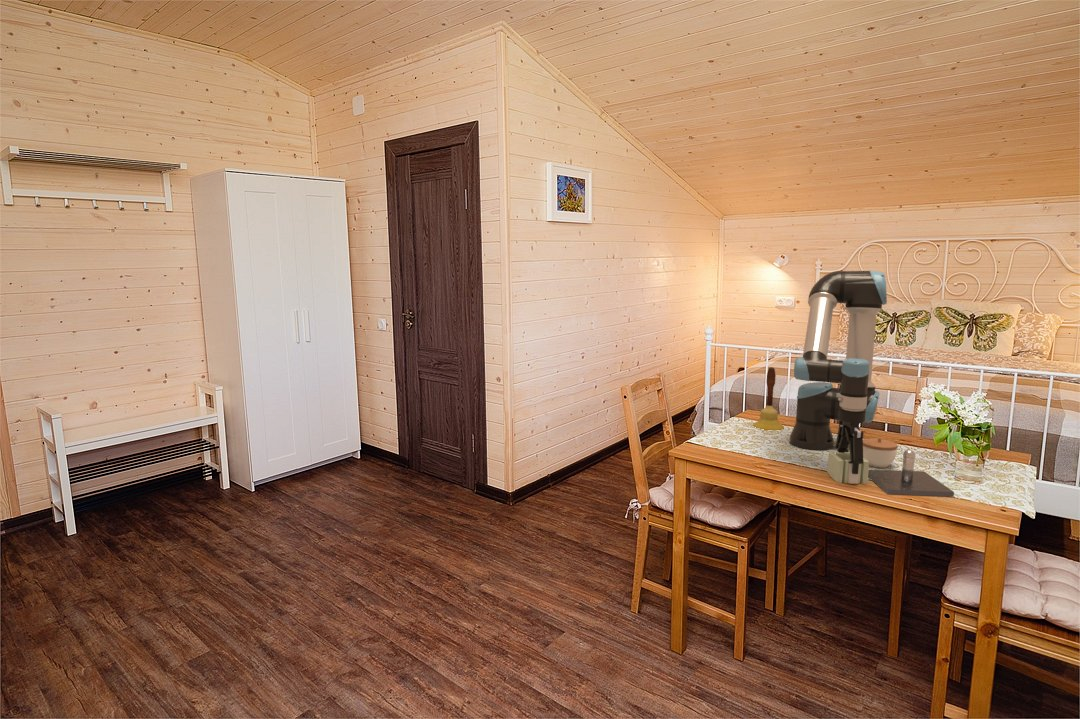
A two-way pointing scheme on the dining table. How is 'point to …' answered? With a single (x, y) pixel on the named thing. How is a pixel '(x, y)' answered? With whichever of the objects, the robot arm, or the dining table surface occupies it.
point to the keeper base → (909, 487)
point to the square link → (845, 467)
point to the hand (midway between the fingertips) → (846, 477)
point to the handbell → (769, 407)
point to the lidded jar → (879, 452)
